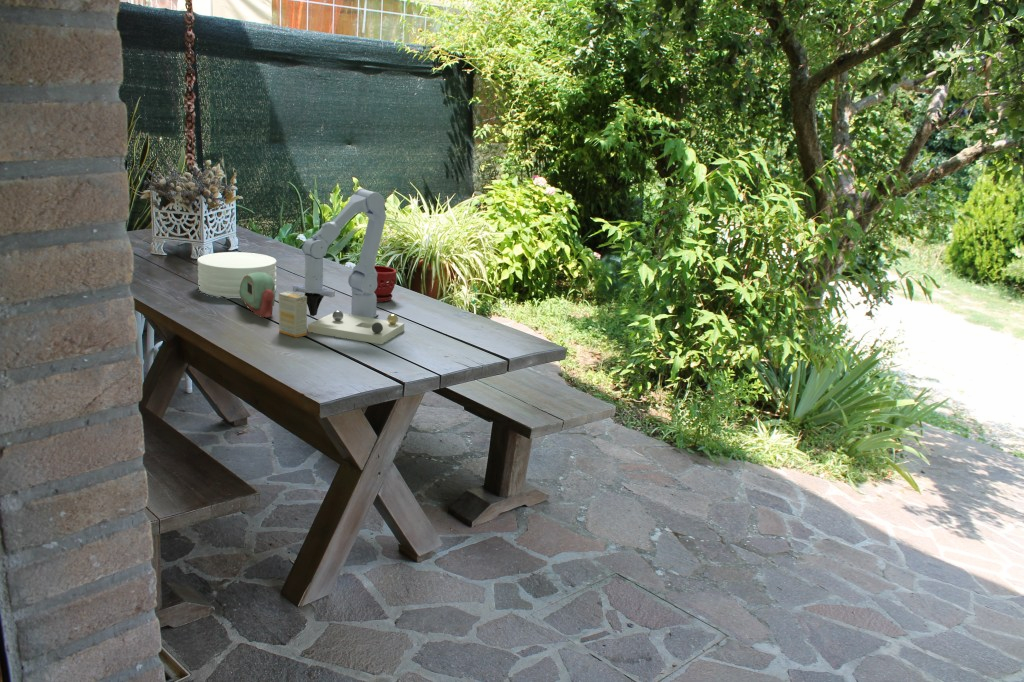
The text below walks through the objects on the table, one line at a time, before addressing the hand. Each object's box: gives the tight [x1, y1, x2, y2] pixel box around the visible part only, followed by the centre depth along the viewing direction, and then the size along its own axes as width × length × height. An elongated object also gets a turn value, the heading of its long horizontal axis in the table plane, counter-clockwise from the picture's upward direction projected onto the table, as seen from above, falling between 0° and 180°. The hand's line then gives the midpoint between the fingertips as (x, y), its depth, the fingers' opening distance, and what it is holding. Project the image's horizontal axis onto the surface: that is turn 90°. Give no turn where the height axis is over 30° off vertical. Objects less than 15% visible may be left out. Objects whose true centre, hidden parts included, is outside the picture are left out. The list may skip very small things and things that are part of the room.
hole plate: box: [307, 311, 405, 345], centre depth 283 cm, size 18×26×2 cm
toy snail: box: [239, 272, 276, 318], centre depth 295 cm, size 25×8×14 cm, turn 33°
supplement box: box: [278, 291, 308, 338], centre depth 274 cm, size 8×5×13 cm, turn 55°
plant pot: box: [374, 265, 397, 303], centre depth 324 cm, size 13×13×12 cm
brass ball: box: [386, 313, 399, 324], centre depth 285 cm, size 4×4×4 cm
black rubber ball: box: [372, 322, 383, 333], centre depth 274 cm, size 4×4×4 cm
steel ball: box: [332, 310, 344, 321], centre depth 284 cm, size 4×4×4 cm
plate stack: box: [197, 251, 277, 297], centre depth 322 cm, size 28×28×12 cm
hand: (313, 315), depth 287 cm, fingers closed
